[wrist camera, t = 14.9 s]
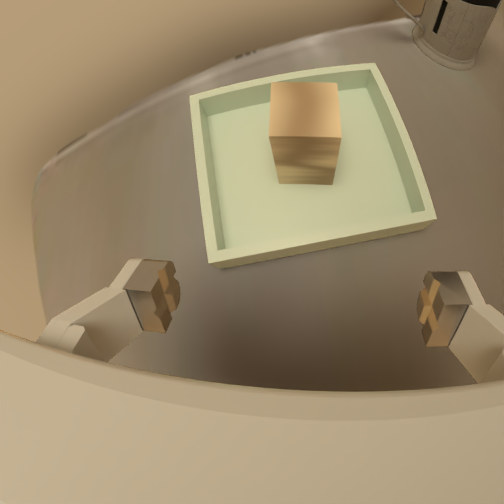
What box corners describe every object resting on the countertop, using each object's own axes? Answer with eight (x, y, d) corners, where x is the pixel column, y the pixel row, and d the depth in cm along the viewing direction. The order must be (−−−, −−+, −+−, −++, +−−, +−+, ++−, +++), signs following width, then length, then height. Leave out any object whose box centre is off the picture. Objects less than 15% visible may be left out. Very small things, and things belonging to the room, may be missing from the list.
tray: (370, 84, 28) (375, 62, 25) (422, 229, 25) (436, 218, 21) (200, 115, 30) (189, 95, 27) (220, 269, 27) (208, 263, 24)
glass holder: (486, 72, 26) (531, -10, 12) (388, 69, 28) (414, -42, 13) (455, 26, 28) (483, -54, 13) (362, 21, 30) (370, -78, 15)
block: (330, 139, 27) (337, 82, 19) (332, 185, 26) (341, 137, 18) (280, 138, 28) (271, 82, 20) (279, 183, 27) (268, 136, 19)
